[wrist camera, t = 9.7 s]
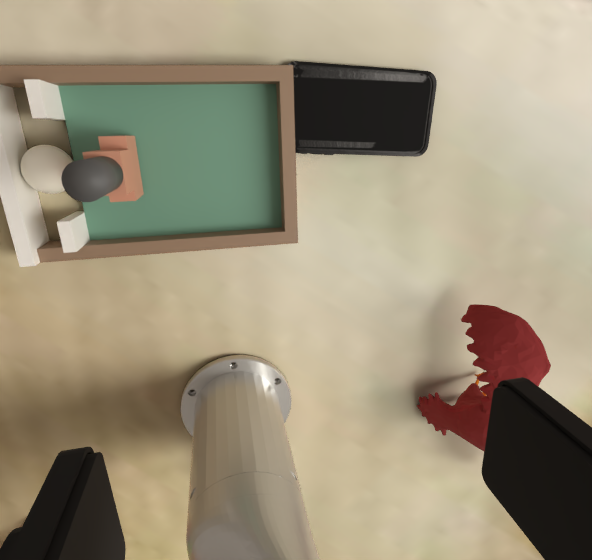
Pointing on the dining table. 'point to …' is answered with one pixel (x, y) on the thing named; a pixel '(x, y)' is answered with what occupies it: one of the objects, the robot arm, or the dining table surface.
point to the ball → (45, 168)
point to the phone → (362, 109)
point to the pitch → (159, 157)
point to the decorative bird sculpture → (488, 371)
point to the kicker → (106, 172)
